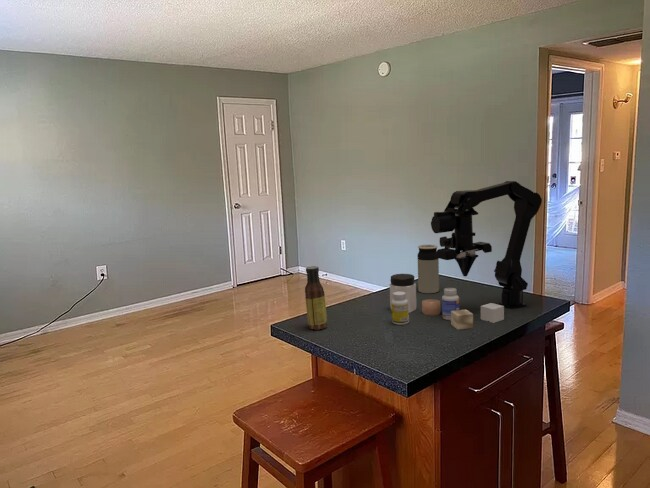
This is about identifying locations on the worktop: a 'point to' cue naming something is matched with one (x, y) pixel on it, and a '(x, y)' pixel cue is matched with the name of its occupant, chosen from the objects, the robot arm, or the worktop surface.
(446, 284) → the worktop surface
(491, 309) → the grey block
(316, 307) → the sauce bottle
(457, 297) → the pill bottle
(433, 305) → the tan rounded cylinder
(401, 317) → the supplement bottle
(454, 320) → the birch block
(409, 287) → the jar
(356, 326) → the worktop surface
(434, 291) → the travel mug
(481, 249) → the robot arm
